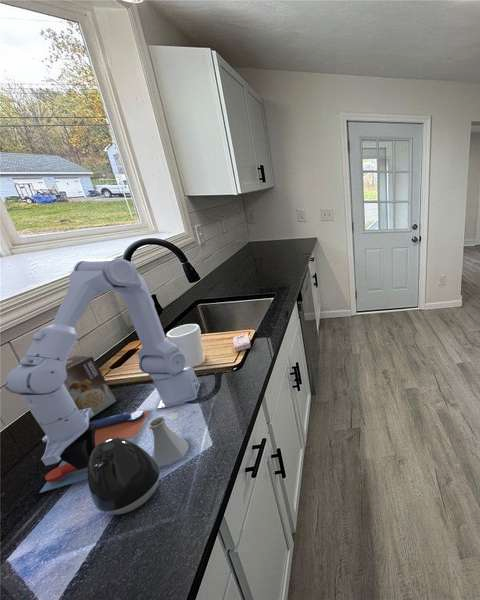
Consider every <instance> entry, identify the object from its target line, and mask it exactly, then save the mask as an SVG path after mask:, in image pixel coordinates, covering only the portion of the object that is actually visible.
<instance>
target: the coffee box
mask: <svg viewBox="0 0 480 600" xmlns="http://www.w3.org/2000/svg"><path fill="white" fill-rule="evenodd" d="M65 369H66V372H67V378H66V380H65V381H64V382H63V384H64V385H65V387H66V389H67V390H68V392H69V394H70V396H71V397H72V399H73V401H74V403H75V404H76V406H77V408H78V409H79V411H80V410H83V409H87V408H91V409H92V411H93V413H94V415H93V416H92V417H89V420H90V419H92V418H93V417H94V416H97V414H99V413H100V412H102V411H104V410H105V409H106V408H108V407H110V406H111V405H113V404H115V403H116V402H117V400H116V397H115V396H114V394H113V392H112V390H111V388H110V387H109V385H108V383H107V380H106V379H105V377H104V376H103V373H102V372H101V370H100V367H99V366H98V364H97V362H96V361H95V359H94V357H93V356H89V355H74V356H72V357H70V358H67V360H66V366H65Z"/></svg>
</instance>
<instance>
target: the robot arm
mask: <svg viewBox="0 0 480 600" xmlns="http://www.w3.org/2000/svg"><path fill="white" fill-rule="evenodd" d="M68 278H69V286H68V287H67V290H66V293H65V295H64V297H63V298H62V300H61V303H60V305H59V308H58V310H57V312H56V314H55V317H54V319H53V320H52V323H51V324H49V325H47V326H44V327H42V328H40V329H39V331H38V332H34V334H33V335H32V338H31V339H32V340H33V341H32V343H31V345H30V346H29V348H28V350H27V351H26V354H25V355H24V357H23V358H21V359H20V361H19V365H16V366H15V367H14V368H12V369H11V370H10V371H8V374H7V375H6V378H5V385H4V386H3V388H4V390H5V391H7V392H8V393H11V394H14V395H15V394H16V395H18V396H20V398H21V399H22V401H23V402H24V404H25V405H26V407H27V408H28V410H29V411H30V413H31V414H32V416H33V418H34V419H35V421H36V422H37V423H38V425H39V427H40V429H41V430H42V431H43V432H44V434H45V435H44V436H43V437H42V439H41V441H42V443H46V446H45V450H44V453H43V456H41V458H40V460H41V461H42V463H43V464H44V466H46V467H47V466H50V465H51V466H52V465H55V464H58V463H59V462H60V461H61V462H62V461H65V462H67V463H69V464H70V465H72V466H73V467H75V468H76V469H78V470H79V469H83V468H86V467H88V461H89V457H90V455H91V453H92V451H93V449H94V448H95V431H96V427H97V426H96V425H95V424H89V423H90V419H89V417H91V418H93V417H94V416H95V415H94V413H93V411H92V409H91V408H87V409H83V410H80V411H79V409H78V408H77V406H76V404H75V403H74V401H73V399H72V397H71V396H70V394H69V392H68V390H67V389H66V387H65V385H64V384H63V382H64V381H65V380H66V378H67V372H66V369H65V366H66V360H68V359H69V356H70V355H71V352H72V350H73V348H74V346H75V344H76V342H77V340H78V339H79V333H77V331H76V327H77V326H78V324H79V323H80V322H81V320H82V318H83V316H84V315H85V313H86V312H87V310H88V308H89V307H90V305H91V303H92V301H93V300H94V298H95V297H97V296H100V295H102V294H106V293H109V292H110V291H111V292H112V291H115V292H117V293H120V295H121V297H122V299H123V303H124V305H125V306H126V310H127V312H128V314H129V315H128V316H129V317H130V319H131V322H132V325H133V327H134V329H135V333H136V334H137V336H138V340H139V342H140V345H141V348H140V349H139V350H138V351H137V356H138V367H139V370H140V371H141V372H142V373H144V374H148V377H150V378H151V380H152V382H153V385H154V386H155V389H156V391H157V394H158V396H159V398H160V402H159V404H158V406H157V410H159V409H164V408H168V407H172V406H176V405H179V404H184V403H187V402H191V401H192V402H193V401H194V400H196V399H197V396H198V394H199V390H200V387H201V383H200V382H199V380H198V377H197V374H196V372H195V369H194V367H185V362H186V359H185V356H184V354H183V353H182V352H181V351H180V350H179V347H178V346H177V345H176V344H174V343H172V342H170V341H168V338H167V336H166V334H165V331H164V328H163V326H162V323H161V320H160V318H159V314H158V312H157V310H156V307H155V304H154V301H153V299H152V296H151V293H150V289H149V287H148V284H147V282H146V280H145V278H144V277H143V276H142V275H141V274H140V273H139V272H138V269H137V266H136V264H135V262H132V261H129V260H127V259H124V258H121V257H120V258H119V257H118V258H104V259H103V258H102V259H101V258H100V259H98V258H97V259H91V258H85V259H81V260H79V261H78V262H77V263H76V264H75V265H74V267H73V270H72V271H71V272H70V273H69V275H68ZM93 415H94V416H93ZM92 416H93V417H92Z"/></svg>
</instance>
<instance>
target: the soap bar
mask: <svg viewBox="0 0 480 600" xmlns="http://www.w3.org/2000/svg"><path fill="white" fill-rule="evenodd" d="M232 340H233V349H234V352H240V351H244V350H247V349H250V348H251V346H252V345H251V341H250V340H251V339H250V337H249V333H243V334H240V335H237V336H233V338H232Z"/></svg>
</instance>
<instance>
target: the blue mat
mask: <svg viewBox="0 0 480 600" xmlns="http://www.w3.org/2000/svg"><path fill="white" fill-rule="evenodd" d="M136 438H137V437H136V436H133V437H130V438H126V439H127V440H129V441H132V442H133V443H135V440H136ZM66 463H67V462H65V461H62V460H61V462H60V463H59V465H58V466H57V467H59V466H62V465H64V464H66ZM87 469H88V468H85V469H82V470H78V471H75V472H71V473H68V474H67V475H65V476H64V477H63V478H61V479H59V480H57V481H55V482H47V481H46V482H45V484H44V485H43V487H42V488H41V489H40V490H39V493H38V494H40V493H41V494H42V493H44V492H48V491H51V490H54V489H57V488H61V487H64V486H67V485H70V484H75V483H77V482H81V481H84V480H88V473H87Z"/></svg>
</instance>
